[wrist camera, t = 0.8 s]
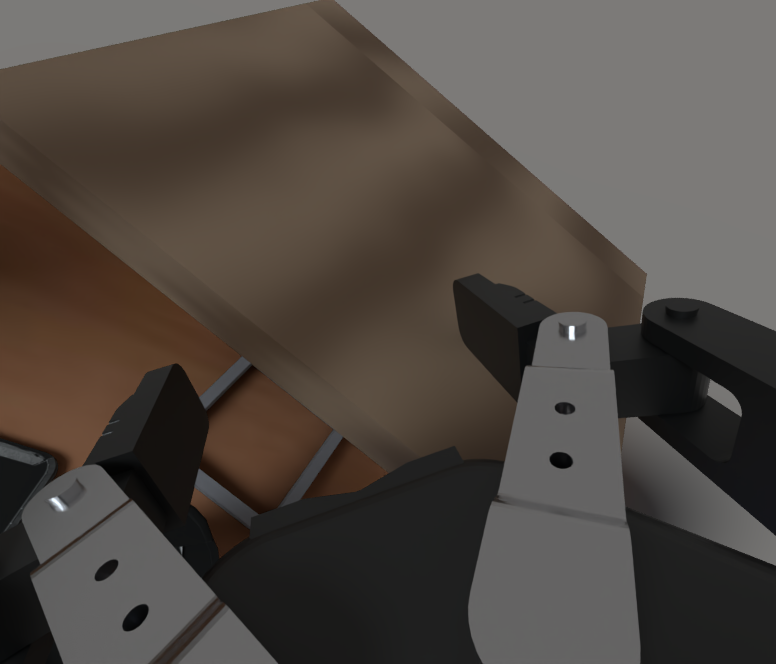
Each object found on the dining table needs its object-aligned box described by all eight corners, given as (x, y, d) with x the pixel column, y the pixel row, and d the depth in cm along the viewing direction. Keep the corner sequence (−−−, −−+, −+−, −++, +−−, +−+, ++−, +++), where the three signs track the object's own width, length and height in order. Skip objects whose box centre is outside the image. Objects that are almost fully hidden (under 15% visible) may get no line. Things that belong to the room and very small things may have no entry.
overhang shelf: (107, 420, 32) (-50, 79, 9) (243, 304, 41) (331, -3, 19) (306, 572, 33) (599, 601, 10) (394, 425, 42) (646, 273, 20)
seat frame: (148, 451, 32) (147, 447, 31) (251, 351, 39) (253, 345, 38) (267, 542, 33) (271, 542, 31) (346, 427, 40) (352, 423, 39)
